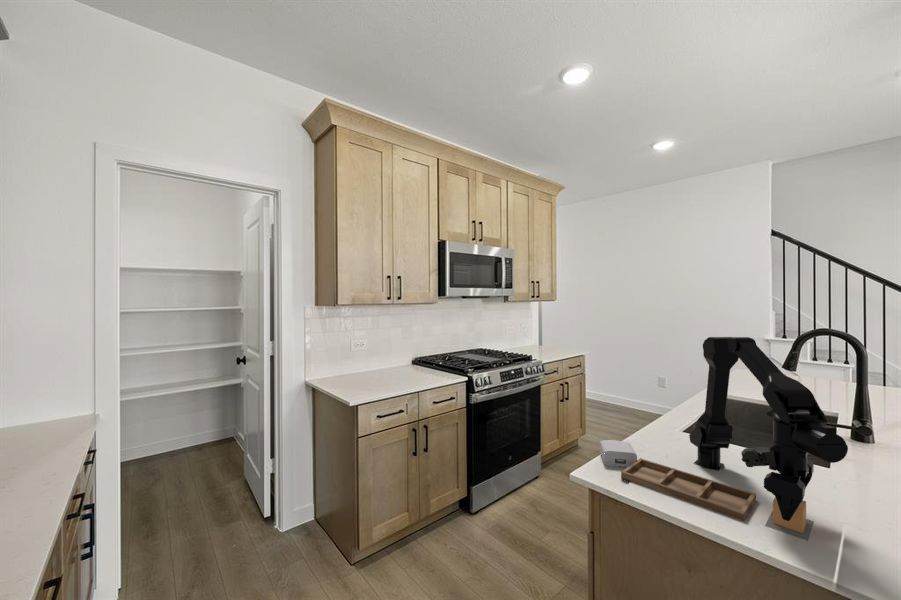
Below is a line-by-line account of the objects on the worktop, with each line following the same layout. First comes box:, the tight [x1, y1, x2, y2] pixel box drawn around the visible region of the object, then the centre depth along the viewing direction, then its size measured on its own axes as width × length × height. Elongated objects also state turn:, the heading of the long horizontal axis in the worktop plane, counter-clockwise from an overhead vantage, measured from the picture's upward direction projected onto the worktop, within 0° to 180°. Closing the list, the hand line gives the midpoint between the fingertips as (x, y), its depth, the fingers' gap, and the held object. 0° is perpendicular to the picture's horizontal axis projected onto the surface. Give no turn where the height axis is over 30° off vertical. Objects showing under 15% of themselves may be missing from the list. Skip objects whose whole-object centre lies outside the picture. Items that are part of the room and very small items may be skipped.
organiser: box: [620, 458, 757, 522], centre depth 101 cm, size 13×28×2 cm, turn 41°
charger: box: [599, 439, 638, 468], centre depth 123 cm, size 5×9×15 cm
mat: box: [764, 510, 815, 542], centre depth 86 cm, size 10×7×1 cm
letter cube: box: [772, 496, 807, 533], centre depth 86 cm, size 5×5×5 cm
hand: (789, 511), depth 86 cm, fingers open, 9 cm apart
